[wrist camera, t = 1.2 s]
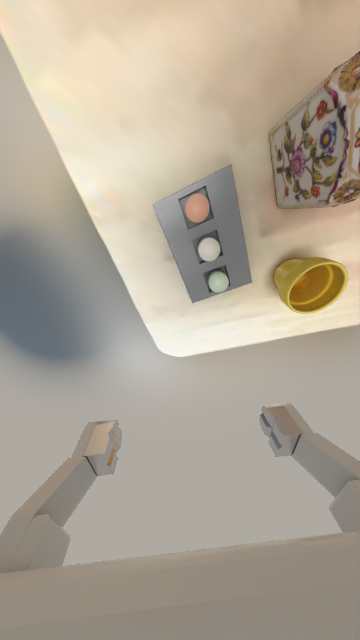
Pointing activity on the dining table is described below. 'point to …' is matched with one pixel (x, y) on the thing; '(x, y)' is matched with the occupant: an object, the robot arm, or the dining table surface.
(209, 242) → the ivory button
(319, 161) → the decorative jar
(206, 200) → the terracotta button
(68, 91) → the dining table surface
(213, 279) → the sage button
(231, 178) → the button console
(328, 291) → the plant pot
